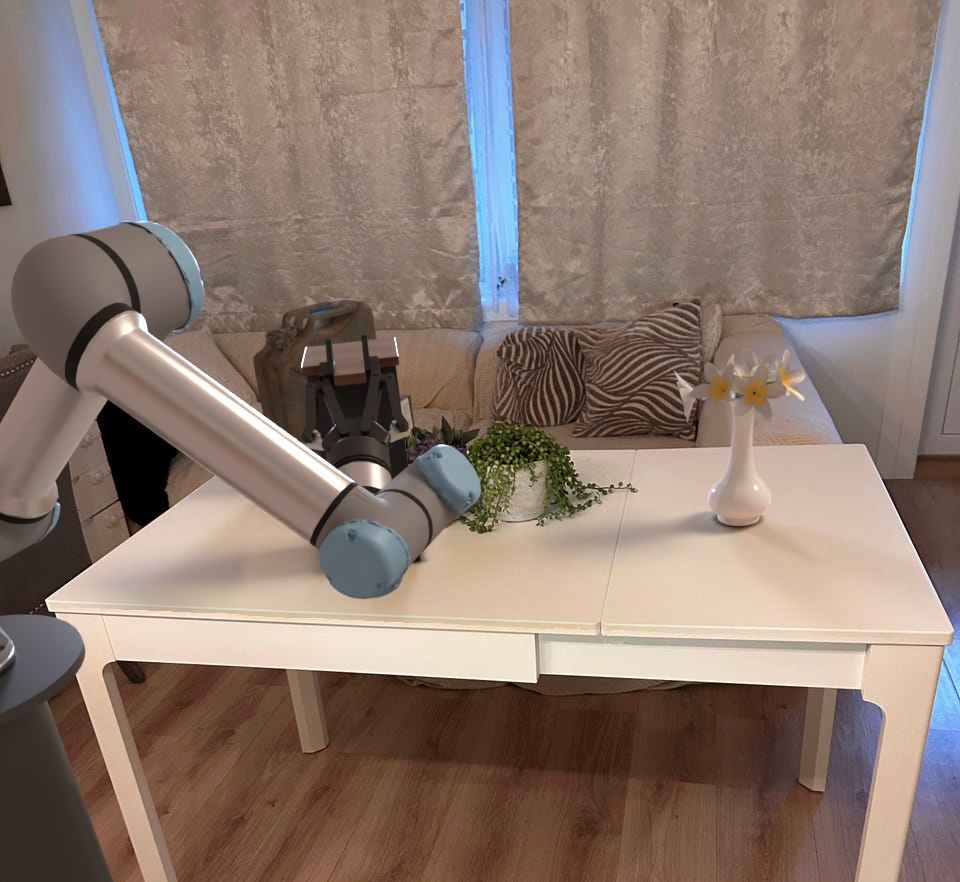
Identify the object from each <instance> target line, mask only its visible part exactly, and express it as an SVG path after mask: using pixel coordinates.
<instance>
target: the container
mask: <svg viewBox="0 0 960 882" xmlns="http://www.w3.org/2000/svg"><path fill="white" fill-rule="evenodd" d="M292 318H294V320H293V323H292V324H291V319H292ZM305 319H306V323H305V325H304V324H303V321H304V320H305ZM303 325H304V327H303ZM363 335H367V339H368V340H374V339H378V338H377V331H376V323H375V319H374V313H373V309H372V308H371V306H370V305H368V303H367V302H365V301H363V300H357V299H349V298H348V299H347V298H333V299H328V300H323V301H320V302H316V303H312V304H308V305H305V306H301V307H296V308H294V309H293V308H292V309H288V310H287V311H285V312H284V313H283V314H282V319H281V325H280V328H277V329H273V330H269V331H267V332H266V333H265V334H264V338H265V344H264V345H263V347H262V349H261V350H259V351H258V352H256V353H255V354H254V355H253V356H252V362H253V369H254V374H255V379H256V384H257V390H258V395H259V401H260V406H261V409H262V410H261V411H262V415H263V416H264V417H266V418H267V419H268V420H270V421H271V422H273V423H274V424H275V425H277V426H278V427H279V428H281V429H282V430H284V431H285V432H286V433H288V434H289V435H291V436H292V437H293V438H295V439H296V440H297V441H299V442H300V443H302V444H303V442H302V438H301V435H302V432H303V430H304V428H305V426H306V384H307V383H308V380H307V376H303V375H302V370H301V366H302V362H303V358H304V353H305V349H306V347H312V346H321V345H326V342H325V340H327V339H331V342H332V344H339V343H347V342H356V341H362V339H361V336H363ZM313 452H314V453H315V454H317V455H318V456H320V457H321V455H320V450H316V449H314V451H313Z"/></svg>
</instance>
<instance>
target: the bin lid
mask: <svg viewBox="0 0 960 882" xmlns="http://www.w3.org/2000/svg"><path fill="white" fill-rule="evenodd" d="M368 346H369V353H370V357H371V356H377V357H378V358H379V365H380V367H388V366H396V367H398V366H400V359H399V358H400V357H399V353H398V347H397V341H396V337H395V336H394V337H393V336H392V337H384V338H377V339H374V340H368ZM332 347H333V352H334V359H335V368H334V382H335V386H341V385H350V384H358V383H366V373H365V367H364V358H363V349H362V341H356V342H347V343H339V344H332ZM320 362H327V355H326V345H321V346H312V347H306V349H305V353H304V358H303V362H302V366H301V370H302V375H303V376H310V375H319V364H320Z"/></svg>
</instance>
